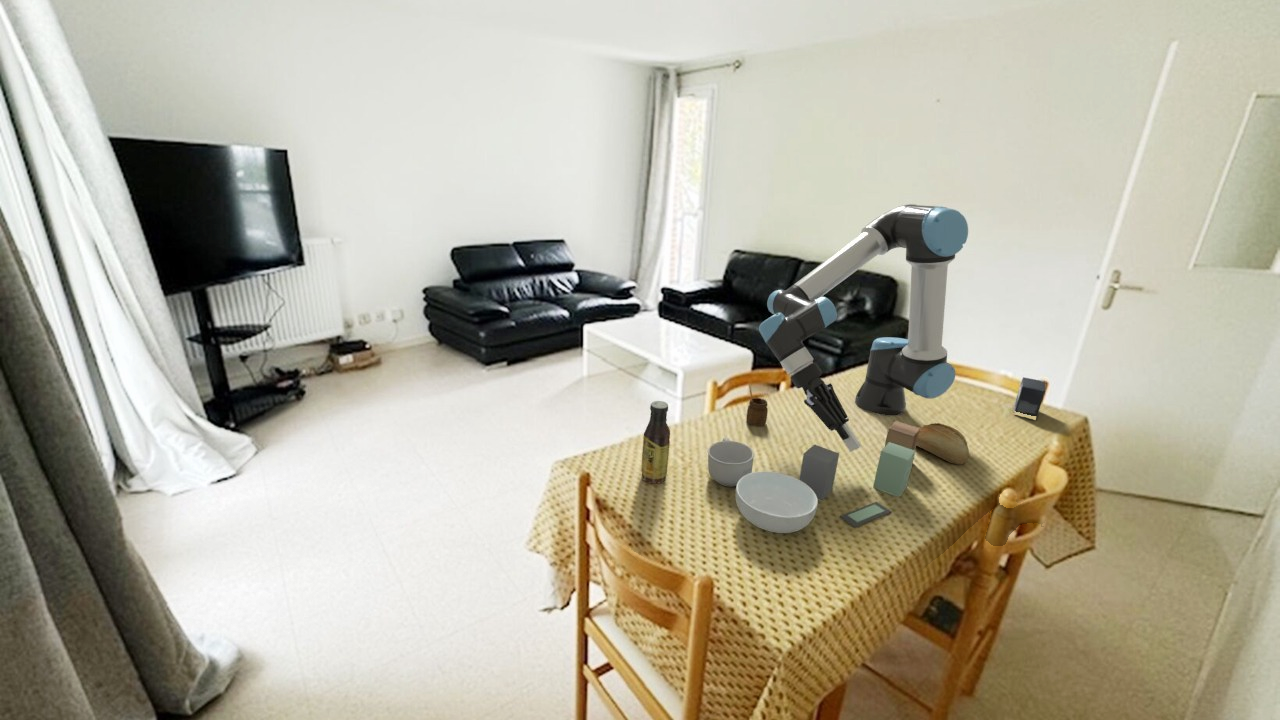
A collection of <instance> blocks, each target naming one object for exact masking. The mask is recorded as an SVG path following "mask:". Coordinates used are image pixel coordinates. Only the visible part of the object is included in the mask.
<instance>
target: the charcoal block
mask: <svg viewBox="0 0 1280 720" xmlns="http://www.w3.org/2000/svg"><path fill="white" fill-rule="evenodd" d="M839 458H840V453H839V452H837V451H835V450H831V449H828V448H825V447H823V446H820V445H817V444H813V445H812V446H811V447H810V448H808V449H807V450H806V451H805V452H804V453H803V456H802V462H801V469H800V474H799V479H798V480H800V481H802V482H804V483H805V484H806V485H808V486H809V487H810V488H811V489H812V490H813V491H814V493H815V494H816V496H817V499H818V501H821V502H823V501H824V500H825V499H826V498H827V497H828V496H829V495H830V494H831V492H833V489H834V483H835V477H836V473H837V468H838V462H839Z"/></svg>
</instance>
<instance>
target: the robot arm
mask: <svg viewBox="0 0 1280 720" xmlns="http://www.w3.org/2000/svg"><path fill="white" fill-rule="evenodd" d="M968 237H969V225H968V221H967V219H966V217H965V216H964V215H963V214H962V213H961V212H960V211H958V210H956V209H954V208H948V207H946V206H936V205H919V204H910V203H909V204H905V205H901V206H897V207H895V208H892V209H890V210H888V211H886V212H884V213H883V214H881V215H880V216H878V217H876V218H875V219H874V220H872V221H871V222H868V224H867V225H864V227H863V228H862V229H861V232H860V234H859V235H858V236H856V237H855V238H854V239H853V240H851V241H849V242H848V243H847V244H846V245H845V246H843V247H842V248H841V249H839V250H838V251H836V252H835V253H834V254H833V255H831V256H829V257H828V258H827V259H826V260H825V261H823V262H822V263H820V264H819V265H817V267H815V268H814V269H813V270H811V271H810V272H808V274H806V275H804V276H803V277H802V278H801V279H799V280H798V281H797V282H796V283H794V284H793V285H791V286H790V287H788V288H787V289H786V290H784V289H778V290H777V289H776V290H774V291H773V292H772V293H770V294H769V296H768V299H767V302H766V306H767V309H768V312H770V313H771V316H770V317H768V318H767V319H765V320H764V321H762V322H761V323H760V324H759V326H758V332H759V333H760V335H761V337H762V339H763V341H764V342H765V344H766V345H767V346H768V347H769V349H770V350H771V352H772V354H774V356H775V357H776V359H777V360H778V362H779V363H780V364H781V367H782V369H783V370H784V371H785V372H786V374H787V375H788V376H790V380H791V381H792V383H793V385H794V386H795V388H797V389H801V388H802V390H803V392H804V394H805V396H806V399H804V400H803V403H804V404H805V405H806V406H807V407H809V408H810V409H811V410H812V412H814V414H815V415H816V417H818V418H819V420H821V422H822V423H823V424H824V425H825V427H826V428H827V429H828V430H829V431H836V433H837V434H838V436H839V437H840V439H841V440H842V441H843V443H844V444H845V446H846V448H847V449H848V450H849V452H853V451H855V450H858V449H860V448H861V447H862V444H861V442H860V441H859V440H858V437H856V435H855V434H854V432H853V431H852V429H851V428H850V427H849V425H848V422H849V421H850V420H849V418H848V415H847V412H846V411H845V409H844V407H843V405H842V403H841V401H840V400H839V397H838V396H837V394H836V392H835V389H834V386H833V384H832V382H831V383H827V384H826V383H825V381H824V379H822V378H821V377H820V376H822V375H823V371H822V369H821V368H820V366H819V365H818V363H817V362H813V361H814V358H813V356H812V355H811V353H810V352H809V350H808V349H807V347H806V346H805V344H804V343H803V341H805V340H806V339H808V338H810V337H812V336H814V334H816V333H818V332H820V331H822V330H824V329H826V328H827V327H828V326H829V325H831V324H833V323H834V322H835V321H836V320H837V318H838V311H837V308H836V307H835V304H834V303H833V302H832V301H831V300H830V299H829V298H828V297H826V296H824V295H826V294H827V293H828V292H830V291H831V290H832V289H834V288H835V287H836V286H838V285H840V283H842V282H843V281H845V280H846V279H847V278H849V277H850V276H851V275H853V274H854V273H856V272H857V270H859V269H860V268H862V267H863V266H864V265H866V264H868V262H870V261H871V260H873V259H874V258H875V257H877V256H878V255H879V256H884V255H885V254H887V253H888V252H890V251H891V250H894V249H897V248H903V249H905V262H907V263H908V264H910V265H911V266H910V267H911V269H910V271H911V272H910V291H909V292H910V293H909V311H908V312H909V314H908V319H909V320H908V331H907V332H908V333H907V335H908V337H907V339H906V338H902V337H891V336H890V337H887V336H885V337H884V336H883V337H877V338H876V339H874V340H873V342H872V345H871V348H870V352H869V357H868V364H867V366H866V367H867V368H866V374H865V379H864V382H863V383H862V384H861V387H860V388H859V389H858V391H857V393H856V394H855V401H854V403H855V405H857V407H859V408H861V409H862V410H864V411H866V412H869V413H871V414H872V413H873V414H876V415H881V416H889V417H890V416H892V417H893V416H901V415H903V414H904V413H905V412H906V408H907V407H906V406H907V402H906V395H905V389H906V390H908V391H909V392H911V393H913V394H914V395H916V396H919V397H922V398H924V399H929V400H930V399H936V398H939V397H940V396H942V395H944V394H946V392H947V391H948V390H949V389H950V388H951V386H952V385H953V383H954V381H955V378H956V369H955V367H953V364H951V363H948V362H947V361H948V360H947V359H948V350H947V349H946V348H945V347H944V346H943V335H944V334H943V333H944V320H945V308H946V307H945V305H946V294H947V279H948V265H949V264H950V263H951V262H952V261H954V260H955V259H956V254H958V253H959V252H961V250H963V248H964V246H963V245H965V244H966V243H967V239H968Z"/></svg>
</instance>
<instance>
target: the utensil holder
mask: <svg viewBox="0 0 1280 720" xmlns="http://www.w3.org/2000/svg"><path fill="white" fill-rule="evenodd" d="M748 387H749V388H748V389H749V395H750V400H749V403H748V406H747V409H746V419H745V421H746V423H747V422H748V423H749V425H750V424H751V425H750V426H753V427H762V426H765V425H766V423H767V421H768V400H767V398H768V399H769V398H770V395H771V393H770V392H771V391H770V390H769V389H768V388H765V389H763V391H762V392H761V394H762V395H761V397H753V394H752V393H753V392H752V388H751V387H752V386H751V385H750V384H748ZM766 391H767V393H768V395H769V396H768V395H766V397H765V394H766ZM748 423H747V424H748Z"/></svg>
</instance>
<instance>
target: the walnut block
mask: <svg viewBox="0 0 1280 720" xmlns="http://www.w3.org/2000/svg"><path fill="white" fill-rule="evenodd" d="M919 431H920V427H917V426H915V425H914V426H913V425H911V424H907V423H905V422H900V421H898V420H895V421H894V422H893V423H892V424H891V425H890V426H889V427H888V430H887V434H886V438H885V443H884V447H885V446H886V445H887V444H888V443H889V442H890V443H893V444H896V445H899V446H902V447H906V448H909V449H912V450H915V451H916V448H917V445H916V443H917V439H918V435H919Z"/></svg>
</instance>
